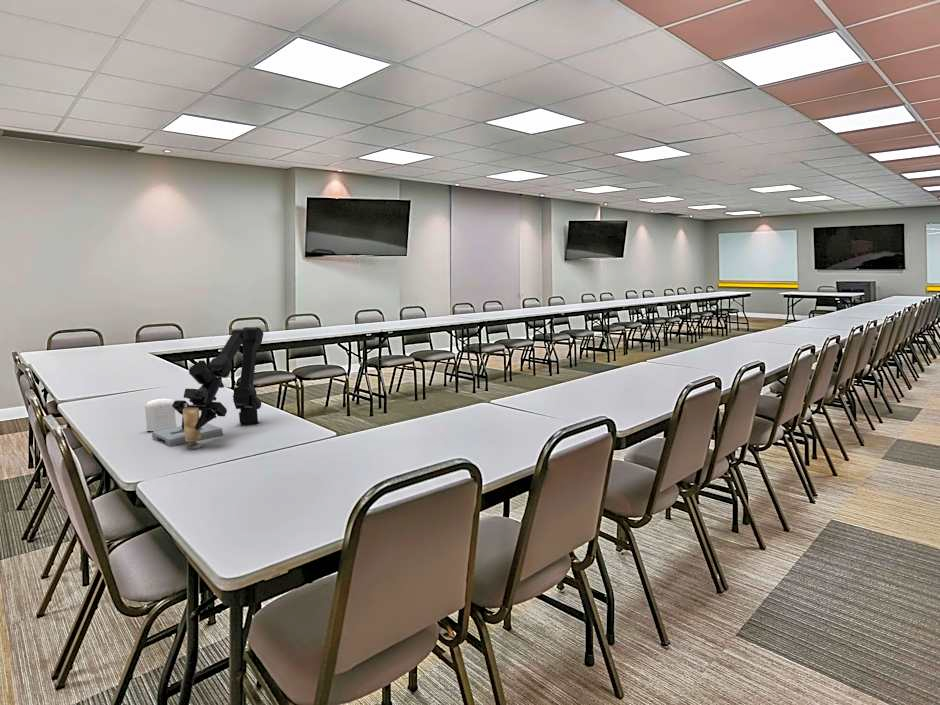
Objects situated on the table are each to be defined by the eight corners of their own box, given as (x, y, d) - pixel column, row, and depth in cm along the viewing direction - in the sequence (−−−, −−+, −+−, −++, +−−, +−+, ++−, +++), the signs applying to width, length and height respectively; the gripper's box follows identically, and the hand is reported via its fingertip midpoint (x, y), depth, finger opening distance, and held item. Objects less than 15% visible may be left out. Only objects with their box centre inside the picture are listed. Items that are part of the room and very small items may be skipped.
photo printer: (175, 426, 232) (173, 396, 230) (177, 428, 228) (174, 398, 227) (146, 430, 226) (143, 399, 225) (147, 433, 223) (144, 401, 221)
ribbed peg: (201, 444, 207) (198, 406, 205) (201, 448, 202) (198, 409, 200) (186, 446, 205) (182, 408, 203) (185, 450, 200) (182, 411, 198)
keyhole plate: (203, 427, 229) (202, 421, 229) (222, 434, 219) (222, 428, 219) (152, 438, 215) (151, 432, 215) (170, 446, 205) (169, 439, 205)
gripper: (173, 378, 206) (152, 415, 197) (219, 379, 202) (200, 418, 193) (190, 395, 215) (171, 432, 205) (234, 397, 210) (217, 434, 201)
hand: (189, 429), depth 201 cm, fingers closed on ribbed peg, 5 cm apart
